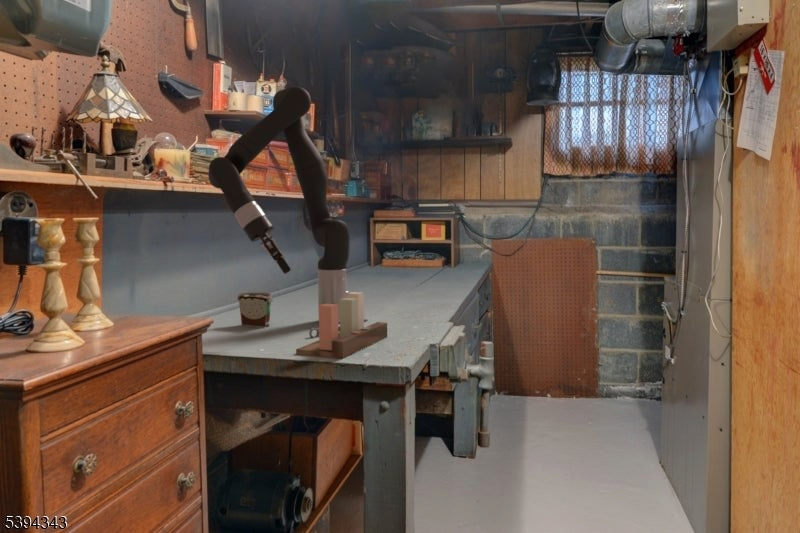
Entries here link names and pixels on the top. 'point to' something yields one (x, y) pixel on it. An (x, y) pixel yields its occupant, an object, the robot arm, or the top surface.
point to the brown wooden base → (348, 342)
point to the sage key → (348, 316)
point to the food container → (255, 308)
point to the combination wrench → (318, 330)
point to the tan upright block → (359, 307)
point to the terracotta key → (328, 325)
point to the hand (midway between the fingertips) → (287, 271)
